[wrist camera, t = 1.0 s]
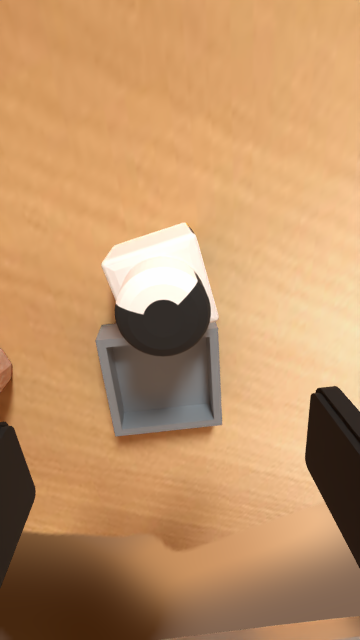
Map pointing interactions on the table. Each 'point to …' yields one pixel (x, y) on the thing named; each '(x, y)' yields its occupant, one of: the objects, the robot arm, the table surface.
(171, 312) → the medicine bottle
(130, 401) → the bin
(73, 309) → the table surface
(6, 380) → the vase
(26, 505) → the robot arm
